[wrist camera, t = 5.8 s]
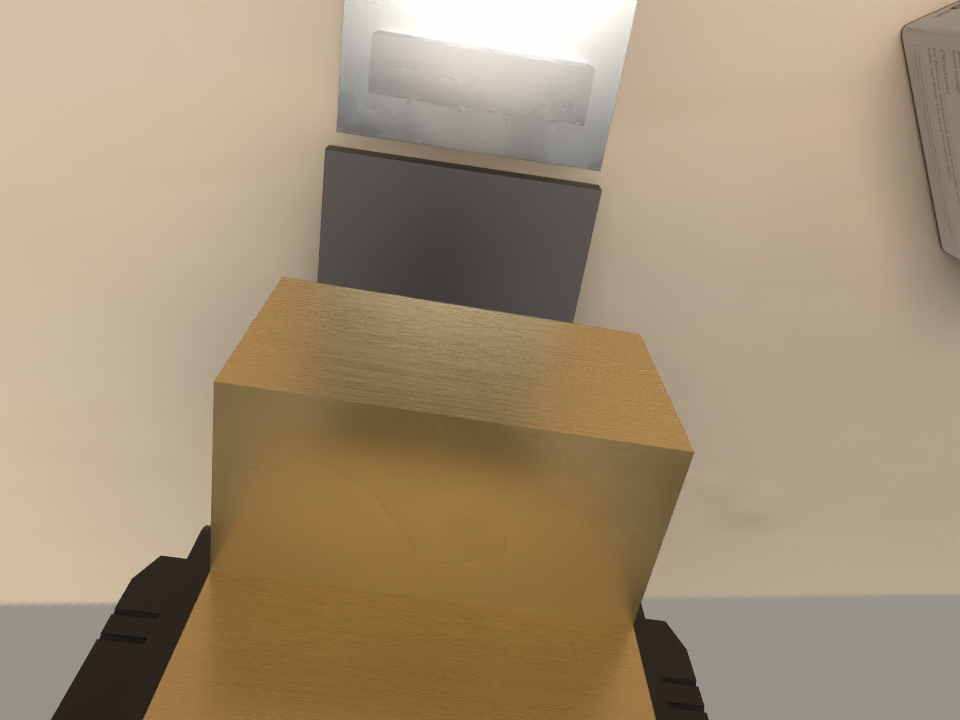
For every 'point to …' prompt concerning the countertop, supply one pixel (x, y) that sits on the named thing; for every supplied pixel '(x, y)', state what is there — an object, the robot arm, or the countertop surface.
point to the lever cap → (427, 517)
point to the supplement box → (939, 111)
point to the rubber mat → (455, 233)
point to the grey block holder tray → (486, 75)
